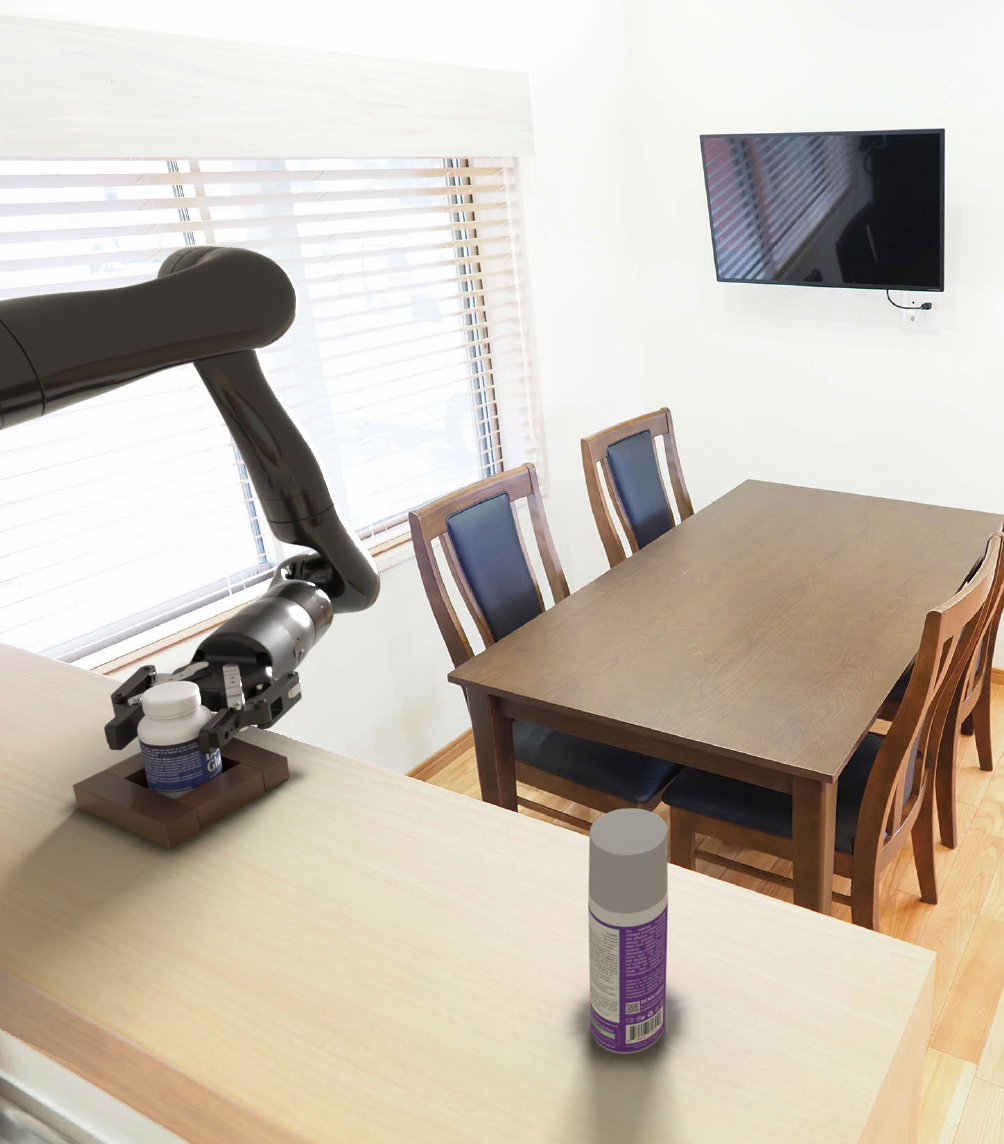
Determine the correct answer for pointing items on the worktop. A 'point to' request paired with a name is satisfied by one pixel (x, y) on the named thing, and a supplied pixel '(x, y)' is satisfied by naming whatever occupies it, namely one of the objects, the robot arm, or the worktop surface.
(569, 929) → the worktop surface
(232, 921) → the worktop surface
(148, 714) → the pill bottle
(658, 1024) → the container
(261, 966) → the worktop surface
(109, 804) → the frame
